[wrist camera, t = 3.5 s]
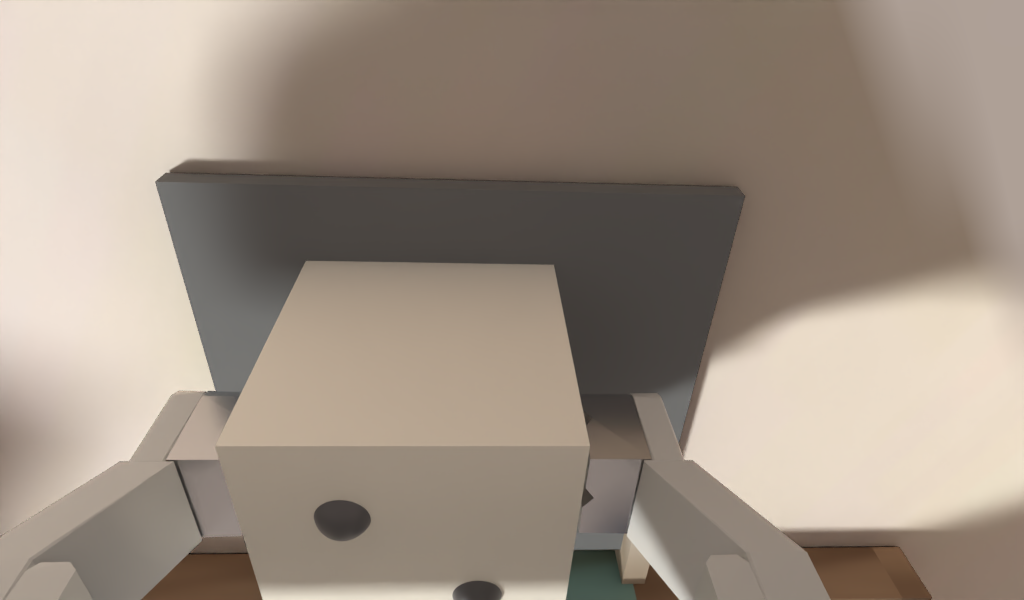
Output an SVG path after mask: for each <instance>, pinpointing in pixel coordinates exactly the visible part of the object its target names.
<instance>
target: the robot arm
mask: <svg viewBox="0 0 1024 600" xmlns="http://www.w3.org/2000/svg"><path fill="white" fill-rule="evenodd" d="M240 394H241V392H225V391H208V392H203V391H178V392H176V393H174V394H173V395H172V396H171V397H170V398H169V400H168V401H167V403H166V404H165V406H164V407H163V409H162V411H161V412H160V414H159V415H158V417H157V418H156V420H155V422H154V423H153V425H152V426H151V428H150V429H149V431H148V433H147V434H146V436H145V437H144V439H143V440H142V442H141V444H140V445H139V447H138V448H137V450H136V452H135V453H134V455H133V456H132V458H131V459H130V461H120V462H118V463H117V464H115V465H114V466H112V467H110V468H109V469H107V470H106V471H104V472H102V473H101V474H99V475H98V476H96V477H94V478H93V479H91V480H90V481H88V482H86V483H85V484H83V485H82V486H80V487H78V488H77V489H75V490H74V491H72V492H71V493H69V494H67V495H66V496H64V497H63V498H61V499H59V500H58V501H56V502H55V503H53V504H51V505H50V506H48V507H47V508H45V509H43V510H42V511H40V512H39V513H37V514H35V515H34V516H32V517H31V518H29V519H28V520H26V521H24V522H23V523H21V524H20V525H18V526H16V527H15V528H13V529H12V530H10V531H8V532H7V533H5V534H4V535H2V536H0V600H141V599H142V598H143V597H144V596H145V595H146V594H147V593H148V592H149V591H150V590H152V589H153V588H154V587H155V586H156V585H157V584H158V583H159V582H160V581H161V580H162V579H163V578H164V577H165V576H166V575H167V574H168V573H169V572H170V571H171V570H172V569H173V568H174V567H175V566H176V565H177V564H178V563H179V562H180V561H181V560H182V559H183V558H185V557H186V556H187V555H188V554H189V553H190V552H191V551H192V550H193V549H194V548H195V547H196V546H197V545H198V544H199V543H200V542H201V541H202V537H227V536H243V535H242V532H241V528H240V525H239V522H238V519H237V515H236V512H235V509H234V506H233V503H232V499H231V496H230V493H229V490H228V486H227V483H226V480H225V477H224V474H223V470H222V467H221V464H220V461H219V457H218V454H217V451H216V448H215V445H216V443H217V441H218V439H219V437H220V435H221V433H222V431H223V429H224V427H225V425H226V423H227V421H228V419H229V417H230V415H231V413H232V411H233V409H234V406H235V404H236V402H237V400H238V398H239V396H240ZM580 398H581V403H582V408H583V413H584V418H585V423H586V428H587V433H588V438H589V443H590V449H589V456H588V462H587V468H586V475H585V481H584V488H583V494H582V500H581V507H580V513H579V519H578V532H579V533H621V534H627V537H628V538H629V539H630V541H631V542H632V543H633V544H634V545H635V547H636V548H637V549H638V550H639V552H640V553H641V554H642V555H643V556H644V558H645V559H646V560H647V561H648V562H649V564H650V565H651V566H652V567H653V568H654V570H655V571H656V572H657V573H658V575H659V576H660V577H661V578H662V579H663V581H664V582H665V583H666V584H667V585H668V587H669V588H670V589H671V590H672V592H673V593H674V594H675V595H676V596H677V598H678V599H679V600H831V599H830V597H829V595H828V593H827V591H826V589H825V587H824V585H823V583H822V581H821V579H820V577H819V575H818V573H817V571H816V569H815V567H814V565H813V563H812V561H811V559H810V557H809V555H808V553H807V552H806V551H805V550H804V549H802V548H801V547H800V546H799V545H797V544H796V543H795V542H794V541H792V540H791V539H790V538H789V537H787V536H786V535H785V534H784V533H782V532H781V531H780V530H779V529H777V528H776V527H775V526H774V525H772V524H771V523H770V522H769V521H767V520H766V519H765V518H764V517H762V516H761V515H760V514H759V513H758V512H756V511H755V510H754V509H753V508H751V507H750V506H749V505H748V504H746V503H745V502H744V501H743V500H741V499H740V498H739V497H738V496H736V495H735V494H734V493H733V492H731V491H730V490H729V489H728V488H726V487H725V486H724V485H723V484H721V483H720V482H719V481H718V480H716V479H715V478H714V477H713V476H712V475H710V474H709V473H708V472H707V471H705V470H704V469H703V468H702V467H700V466H699V465H698V464H697V463H695V462H694V461H693V460H684V457H683V455H682V452H681V449H680V447H679V444H678V441H677V439H676V436H675V433H674V431H673V428H672V425H671V423H670V420H669V417H668V414H667V412H666V409H665V406H664V404H663V401H662V398H661V396H660V395H658V394H657V393H630V394H580Z"/></svg>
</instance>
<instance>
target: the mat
mask: <svg viewBox="0 0 1024 600" xmlns="http://www.w3.org/2000/svg"><path fill="white" fill-rule="evenodd" d="M155 183H156V186H157V190H158V193H159V196H160V200H161V203H162V207H163V210H164V214H165V217H166V221H167V224H168V227H169V231H170V234H171V238H172V241H173V245H174V248H175V252H176V255H177V259H178V262H179V265H180V269H181V272H182V276H183V279H184V283H185V286H186V290H187V293H188V297H189V300H190V303H191V307H192V310H193V314H194V317H195V321H196V324H197V328H198V331H199V335H200V338H201V341H202V345H203V348H204V352H205V355H206V359H207V362H208V366H209V369H210V373H211V376H212V379H213V383H214V386H215V390H216V391H225V392H242V390H243V388H244V386H245V384H246V382H247V380H248V378H249V376H250V374H251V372H252V370H253V368H254V366H255V364H256V362H257V360H258V357H259V355H260V353H261V351H262V349H263V347H264V345H265V343H266V341H267V339H268V337H269V335H270V333H271V331H272V329H273V327H274V325H275V323H276V321H277V319H278V317H279V315H280V313H281V311H282V308H283V306H284V304H285V302H286V300H287V298H288V296H289V294H290V292H291V290H292V288H293V286H294V284H295V282H296V280H297V278H298V276H299V274H300V272H301V270H302V268H303V266H304V264H305V262H306V261H356V262H416V263H476V264H536V265H554V268H555V273H556V278H557V283H558V288H559V293H560V298H561V303H562V308H563V313H564V318H565V323H566V328H567V333H568V338H569V343H570V348H571V353H572V358H573V363H574V368H575V373H576V378H577V383H578V388H579V393H580V394H630V393H657V394H658V395H660V396H661V398H662V401H663V404H664V406H665V409H666V412H667V414H668V417H669V420H670V423H671V425H672V428H673V431H674V433H675V436H676V439H677V441H678V444H679V441H680V437H681V433H682V430H683V426H684V422H685V418H686V415H687V411H688V407H689V403H690V400H691V396H692V392H693V389H694V385H695V381H696V377H697V374H698V370H699V366H700V362H701V359H702V355H703V351H704V347H705V344H706V340H707V336H708V332H709V329H710V325H711V321H712V318H713V314H714V310H715V306H716V303H717V299H718V295H719V291H720V288H721V284H722V280H723V276H724V273H725V269H726V265H727V262H728V258H729V254H730V250H731V247H732V243H733V239H734V235H735V232H736V228H737V224H738V220H739V217H740V213H741V209H742V206H743V202H744V198H745V195H744V194H743V193H742V192H741V191H740V190H739V188H738V187H722V186H681V185H640V184H600V183H559V182H518V181H478V180H437V179H396V178H355V177H315V176H274V175H233V174H193V173H165V174H164V175H163V176H161V177H160V178H159V179H158V180H157V181H156V182H155ZM623 536H624V534H621V533H579V532H578V526H577V532H576V538H575V545H574V550H608V549H621V545H622V541H623Z"/></svg>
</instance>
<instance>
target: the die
mask: <svg viewBox="0 0 1024 600" xmlns="http://www.w3.org/2000/svg"><path fill="white" fill-rule="evenodd" d="M215 448H216V451H217V454H218V457H219V461H220V464H221V467H222V470H223V474H224V477H225V480H226V483H227V486H228V490H229V493H230V496H231V499H232V503H233V506H234V509H235V512H236V515H237V519H238V522H239V525H240V528H241V532H242V535H243V538H244V541H245V544H246V548H247V551H248V554H249V557H250V560H251V564H252V567H253V570H254V573H255V577H256V580H257V583H258V586H259V589H260V593H261V596H262V599H263V600H566V595H567V589H568V583H569V576H570V570H571V564H572V557H573V551H574V545H575V538H576V532H577V526H578V519H579V513H580V507H581V500H582V494H583V488H584V481H585V475H586V468H587V462H588V456H589V449H590V443H589V438H588V433H587V428H586V423H585V418H584V413H583V408H582V403H581V398H580V393H579V388H578V383H577V378H576V373H575V368H574V363H573V358H572V353H571V348H570V343H569V338H568V333H567V328H566V323H565V318H564V313H563V308H562V303H561V298H560V293H559V288H558V283H557V278H556V273H555V268H554V265H536V264H476V263H416V262H356V261H306V262H305V264H304V266H303V268H302V270H301V272H300V274H299V276H298V278H297V280H296V282H295V284H294V286H293V288H292V290H291V292H290V294H289V296H288V298H287V300H286V302H285V304H284V306H283V308H282V311H281V313H280V315H279V317H278V319H277V321H276V323H275V325H274V327H273V329H272V331H271V333H270V335H269V337H268V339H267V341H266V343H265V345H264V347H263V349H262V351H261V353H260V355H259V357H258V360H257V362H256V364H255V366H254V368H253V370H252V372H251V374H250V376H249V378H248V380H247V382H246V384H245V386H244V388H243V390H242V392H241V394H240V396H239V398H238V400H237V402H236V404H235V406H234V409H233V411H232V413H231V415H230V417H229V419H228V421H227V423H226V425H225V427H224V429H223V431H222V433H221V435H220V437H219V439H218V441H217V443H216V445H215Z"/></svg>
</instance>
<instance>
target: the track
mask: <svg viewBox="0 0 1024 600" xmlns="http://www.w3.org/2000/svg"><path fill="white" fill-rule="evenodd" d="M802 549H804V550H805V551H806V552H807V553H808V555H809V557H810V559H811V561H812V563H813V565H814V567H815V569H816V571H817V573H818V575H819V577H820V579H821V581H822V583H823V585H824V587H825V589H826V591H827V593H828V595H829V597H830V599H831V600H931V598H932V597H931V595H930V594H929V592H928V590H927V589H926V587H925V586H924V584H923V583H922V581H921V580H920V578H919V577H918V575H917V574H916V572H915V570H914V569H913V567H912V566H911V564H910V563H909V561H908V560H907V558H906V557H905V555H904V553H903V552H902V550H901V549H900V547H844V548H802ZM141 600H263V599H262V596H261V593H260V589H259V586H258V583H257V580H256V577H255V573H254V570H253V567H252V564H251V560H250V557H249V554H194V555H187V556H186V557H185V558H183V559H182V560H181V561H180V562H179V563H178V564H177V565H176V566H175V567H174V568H173V569H172V570H171V571H170V572H169V573H168V574H167V575H166V576H165V577H164V578H163V579H162V580H161V581H160V582H159V583H158V584H157V585H156V586H155V587H154V588H153V589H152V590H150V591H149V592H148V593H147V594H146V595H145V596H144V597H143V598H142V599H141ZM566 600H679V599H678V598H677V596H676V595H675V594H674V593H673V592H672V590H671V589H670V588H669V587H668V585H667V584H666V583H665V582H664V581H663V579H662V578H661V577H660V576H659V575H658V573H657V572H656V571H655V570H654V568H653V567H652V566H651V565H650V564H649V562H648V561H647V560H646V559H645V558H644V556H643V555H642V554H641V553H640V552H639V550H638V549H637V548H636V547H635V545H634V544H633V543H632V542H631V541H630V539H629V538H628V537H627V534H624V536H623V541H622V545H621V549H615V550H574V551H573V557H572V564H571V570H570V576H569V583H568V589H567V595H566Z"/></svg>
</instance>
